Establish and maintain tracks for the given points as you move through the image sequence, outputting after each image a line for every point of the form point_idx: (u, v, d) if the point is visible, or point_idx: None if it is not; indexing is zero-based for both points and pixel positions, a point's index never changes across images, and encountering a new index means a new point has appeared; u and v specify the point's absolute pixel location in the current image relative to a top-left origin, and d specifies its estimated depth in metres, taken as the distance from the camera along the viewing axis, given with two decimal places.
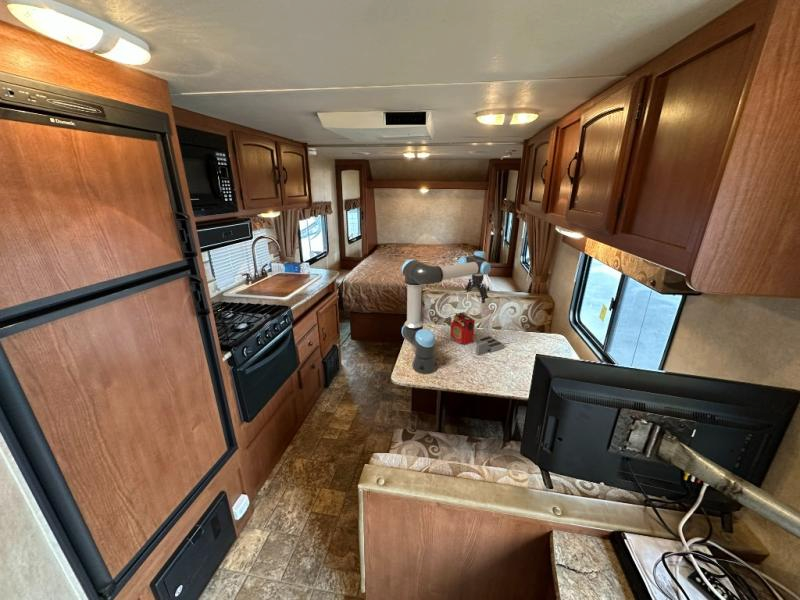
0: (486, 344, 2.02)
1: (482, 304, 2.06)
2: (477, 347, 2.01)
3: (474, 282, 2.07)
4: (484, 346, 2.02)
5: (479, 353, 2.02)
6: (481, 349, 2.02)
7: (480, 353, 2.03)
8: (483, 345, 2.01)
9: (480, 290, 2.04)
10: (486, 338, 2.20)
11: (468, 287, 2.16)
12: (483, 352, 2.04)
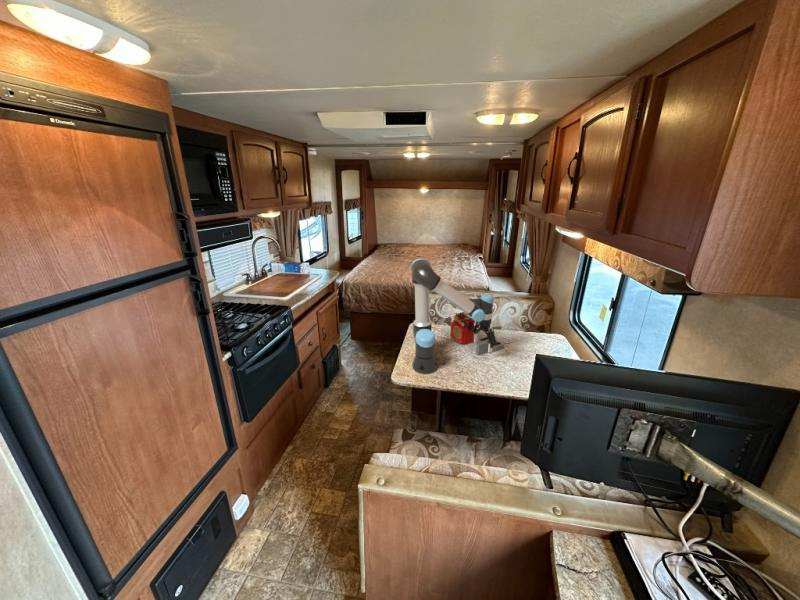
0: (486, 344, 2.02)
1: (490, 349, 1.96)
2: (477, 347, 2.01)
3: (481, 325, 1.98)
4: (484, 346, 2.02)
5: (479, 353, 2.02)
6: (481, 349, 2.02)
7: (480, 353, 2.03)
8: (483, 345, 2.01)
9: (488, 334, 1.94)
10: (486, 338, 2.20)
11: (475, 329, 2.06)
12: (483, 352, 2.04)
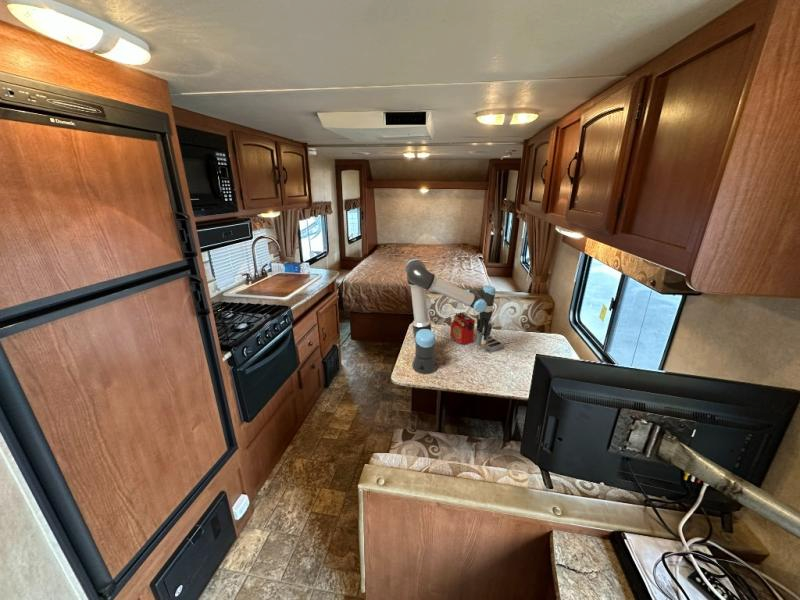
0: None
1: (484, 341, 1.99)
2: (478, 336, 1.98)
3: None
4: None
5: (480, 343, 1.99)
6: None
7: (480, 342, 2.00)
8: None
9: (485, 327, 1.95)
10: None
11: (479, 326, 2.01)
12: None
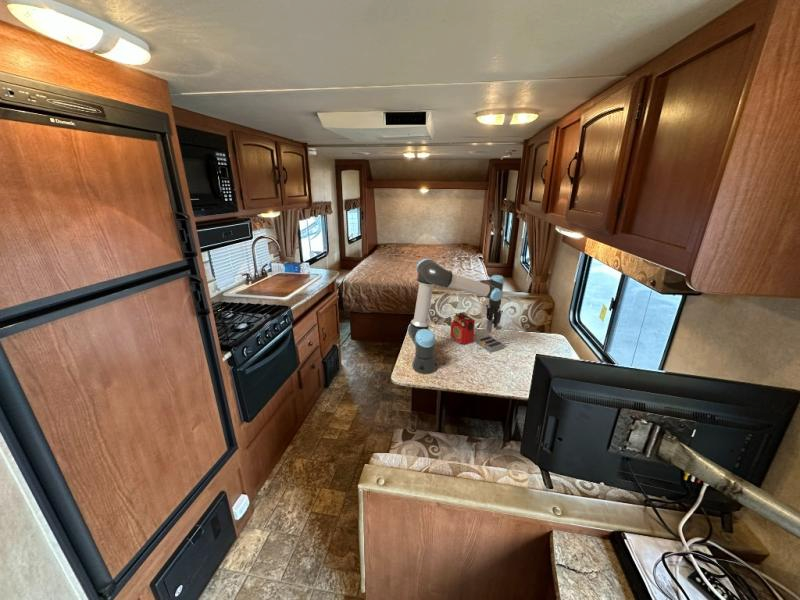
0: None
1: (494, 328, 2.07)
2: (488, 324, 2.06)
3: (491, 304, 2.03)
4: None
5: (490, 330, 2.07)
6: None
7: (491, 330, 2.08)
8: None
9: (495, 315, 2.03)
10: (486, 338, 2.20)
11: None
12: None
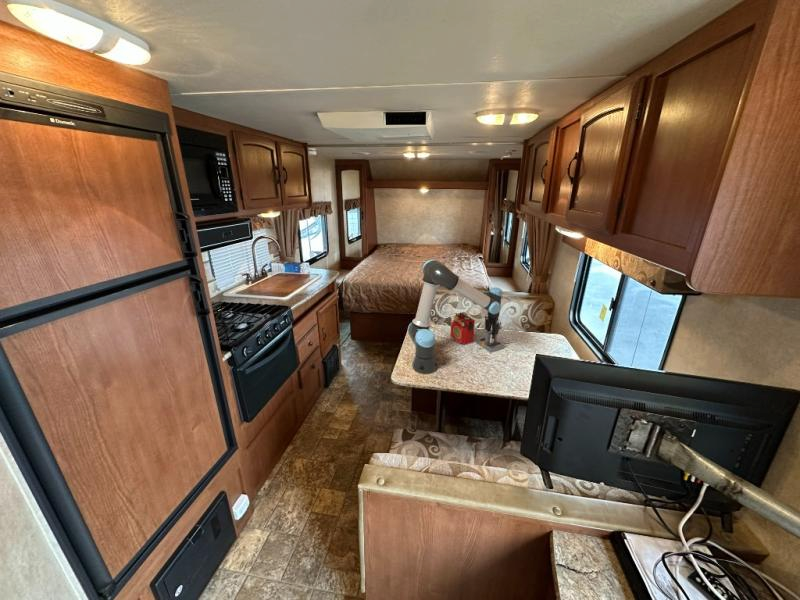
0: None
1: (492, 339, 2.11)
2: (486, 335, 2.09)
3: (490, 316, 2.07)
4: None
5: (488, 341, 2.11)
6: (490, 337, 2.10)
7: (489, 341, 2.11)
8: None
9: (493, 327, 2.06)
10: None
11: (487, 326, 2.12)
12: None
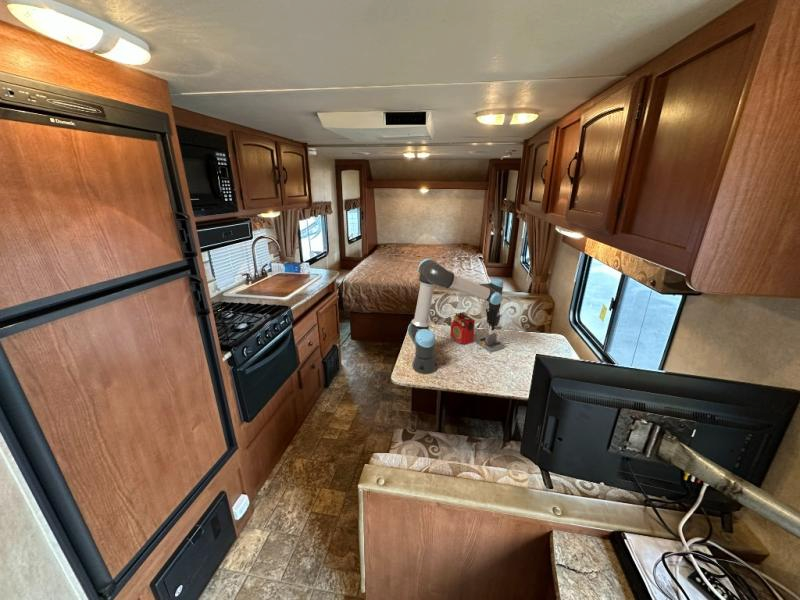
0: (495, 335, 2.12)
1: (492, 331, 2.09)
2: (486, 338, 2.10)
3: (490, 308, 2.04)
4: (493, 337, 2.11)
5: None
6: (490, 340, 2.11)
7: None
8: (492, 336, 2.10)
9: (494, 318, 2.04)
10: None
11: None
12: None
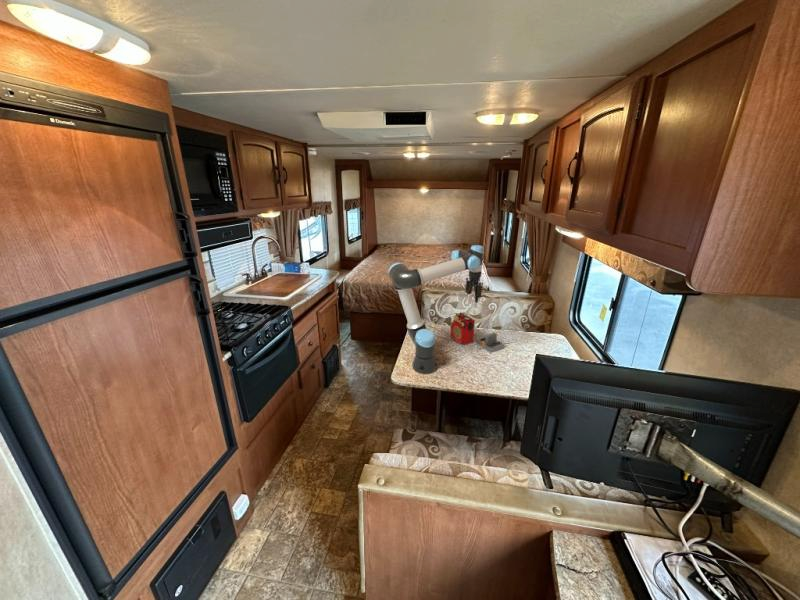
0: (495, 335, 2.12)
1: (475, 303, 1.95)
2: (486, 338, 2.10)
3: (471, 278, 1.92)
4: (493, 337, 2.11)
5: None
6: (490, 340, 2.11)
7: None
8: (492, 336, 2.10)
9: (475, 288, 1.91)
10: None
11: None
12: None
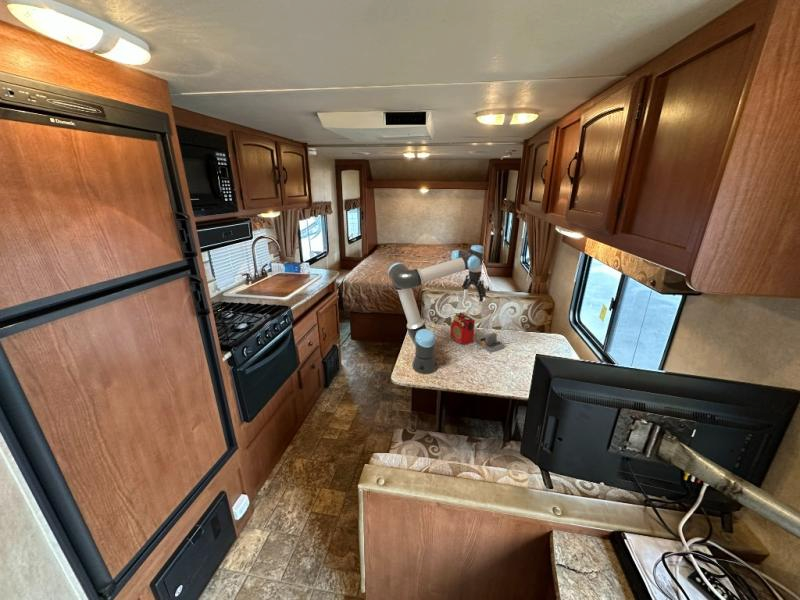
0: (495, 335, 2.12)
1: (480, 302, 1.91)
2: (486, 338, 2.10)
3: (471, 279, 1.92)
4: (493, 337, 2.11)
5: None
6: (490, 340, 2.11)
7: None
8: (492, 336, 2.10)
9: (478, 287, 1.89)
10: None
11: (465, 284, 2.01)
12: None
